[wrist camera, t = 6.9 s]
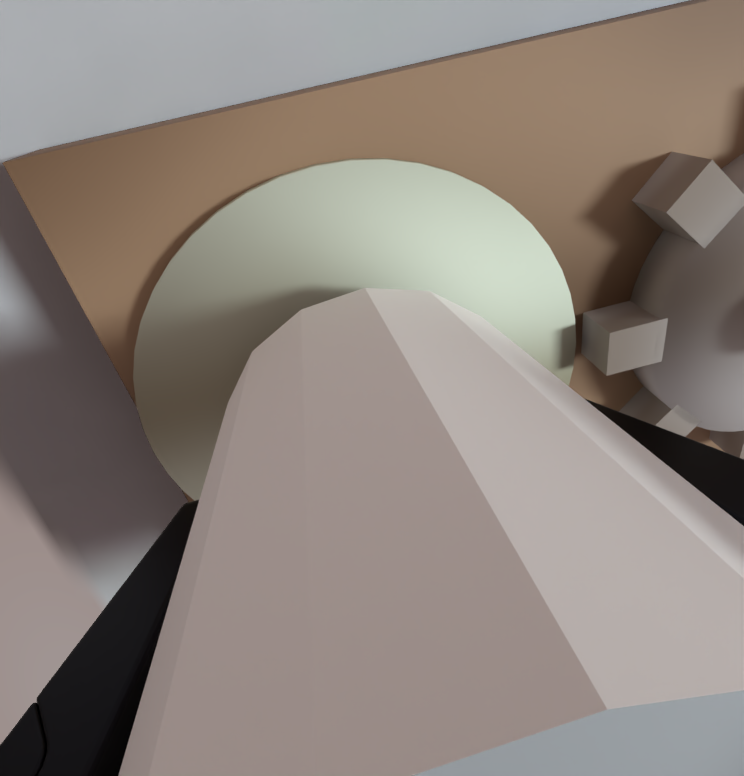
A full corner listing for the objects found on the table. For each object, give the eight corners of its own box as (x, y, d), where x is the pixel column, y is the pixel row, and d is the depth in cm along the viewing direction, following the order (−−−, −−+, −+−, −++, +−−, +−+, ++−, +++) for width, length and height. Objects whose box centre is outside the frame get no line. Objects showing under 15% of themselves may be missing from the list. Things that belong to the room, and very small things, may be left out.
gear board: (818, 399, 16) (954, 481, 13) (244, 555, 15) (238, 683, 12) (988, -69, 10) (1329, -134, 7) (39, 149, 9) (-82, 192, 6)
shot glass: (532, 518, 12) (786, 944, 6) (237, 576, 11) (206, 1121, 5) (568, 221, 8) (1288, 579, 2) (134, 280, 8) (-302, 974, 2)
